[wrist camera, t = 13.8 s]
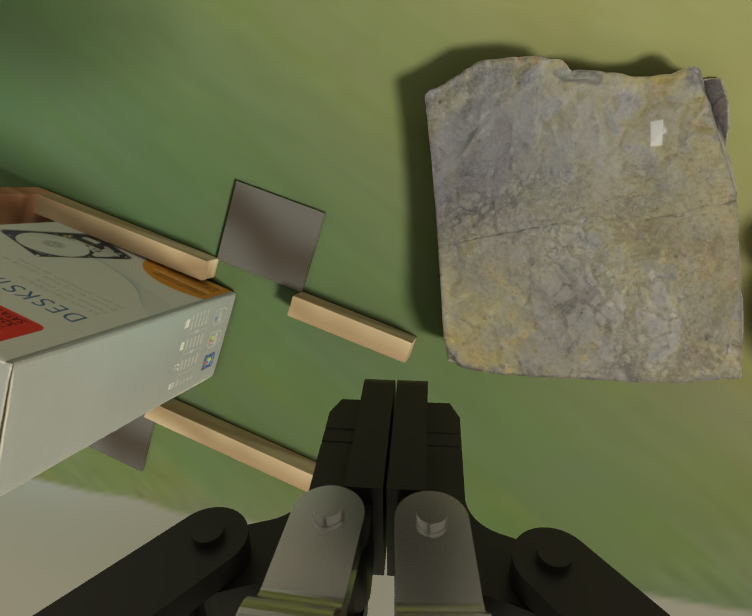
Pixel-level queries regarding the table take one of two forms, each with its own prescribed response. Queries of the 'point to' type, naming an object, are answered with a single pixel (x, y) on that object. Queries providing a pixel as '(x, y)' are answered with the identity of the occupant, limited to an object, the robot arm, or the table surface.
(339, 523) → the robot arm
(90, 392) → the hard drive box
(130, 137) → the table surface
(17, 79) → the table surface
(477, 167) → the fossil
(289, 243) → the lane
